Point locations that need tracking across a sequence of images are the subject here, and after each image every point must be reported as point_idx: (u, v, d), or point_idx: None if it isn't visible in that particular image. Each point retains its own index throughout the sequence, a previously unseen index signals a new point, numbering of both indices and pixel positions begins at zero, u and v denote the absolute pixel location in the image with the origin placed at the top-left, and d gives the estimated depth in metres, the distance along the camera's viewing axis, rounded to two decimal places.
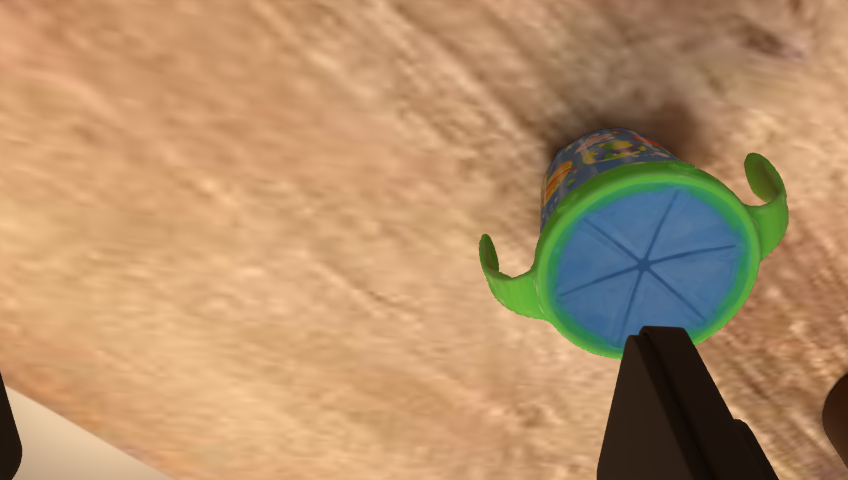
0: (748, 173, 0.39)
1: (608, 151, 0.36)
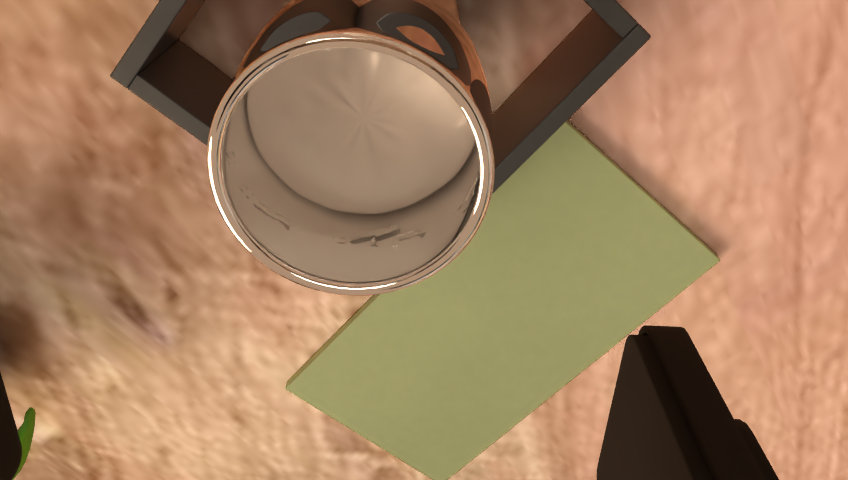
0: None
1: None
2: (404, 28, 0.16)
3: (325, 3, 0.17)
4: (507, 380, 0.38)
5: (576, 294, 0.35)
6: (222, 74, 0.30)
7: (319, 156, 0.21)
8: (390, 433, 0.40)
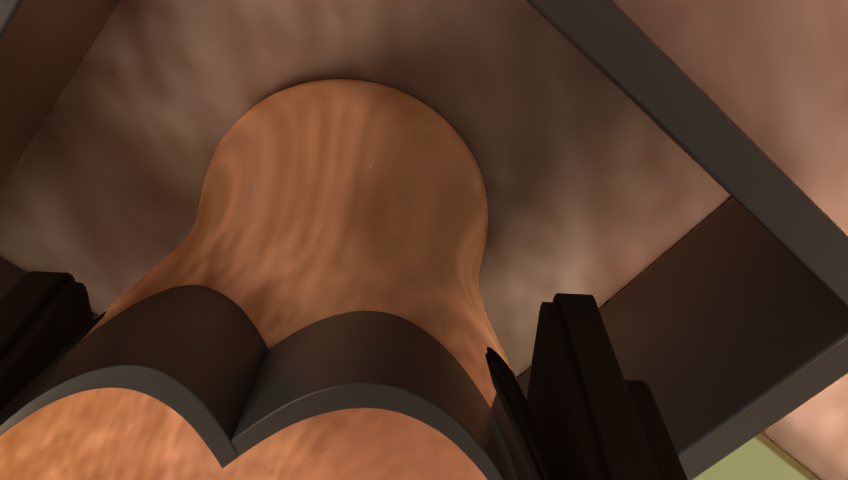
0: None
1: None
2: None
3: None
4: None
5: None
6: None
7: None
8: None
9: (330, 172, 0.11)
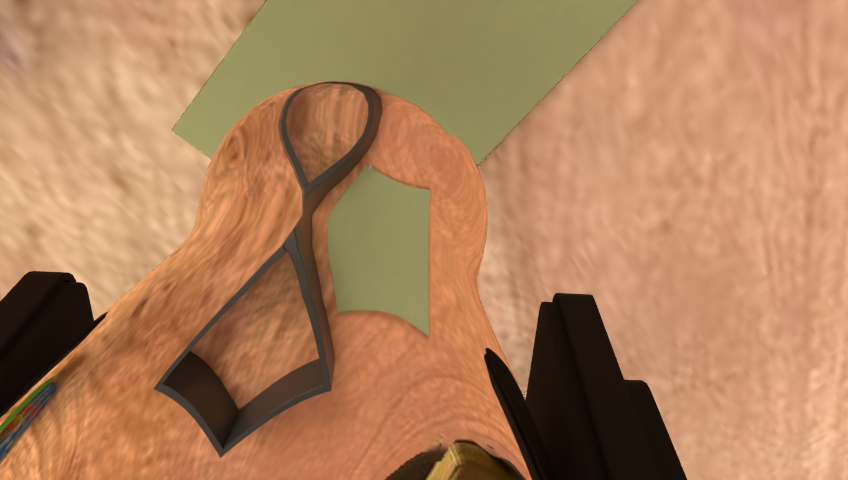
0: None
1: None
2: None
3: None
4: (445, 117, 0.31)
5: None
6: None
7: None
8: None
9: (330, 174, 0.11)
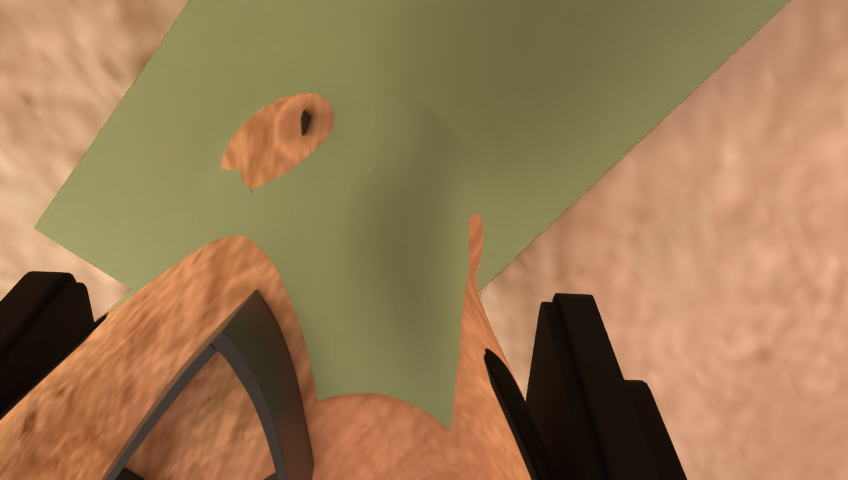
0: None
1: None
2: None
3: None
4: None
5: (576, 10, 0.18)
6: None
7: None
8: None
9: (330, 174, 0.11)
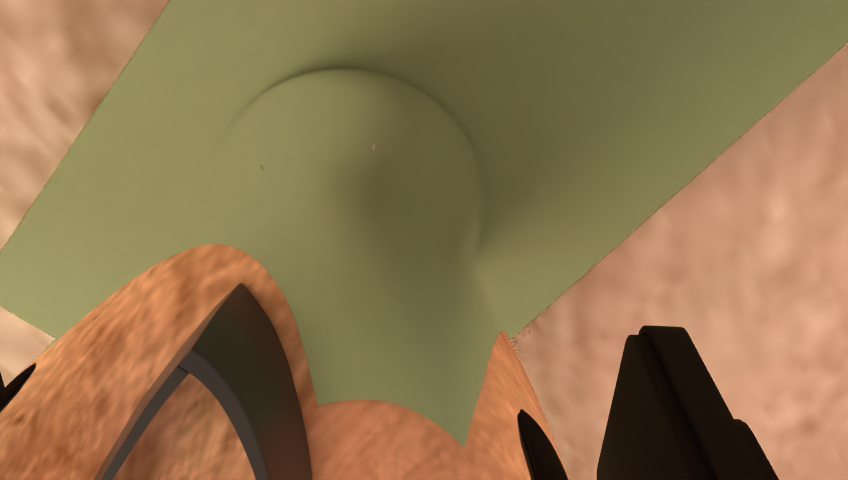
0: None
1: None
2: None
3: None
4: None
5: (604, 45, 0.15)
6: None
7: None
8: None
9: (336, 152, 0.12)
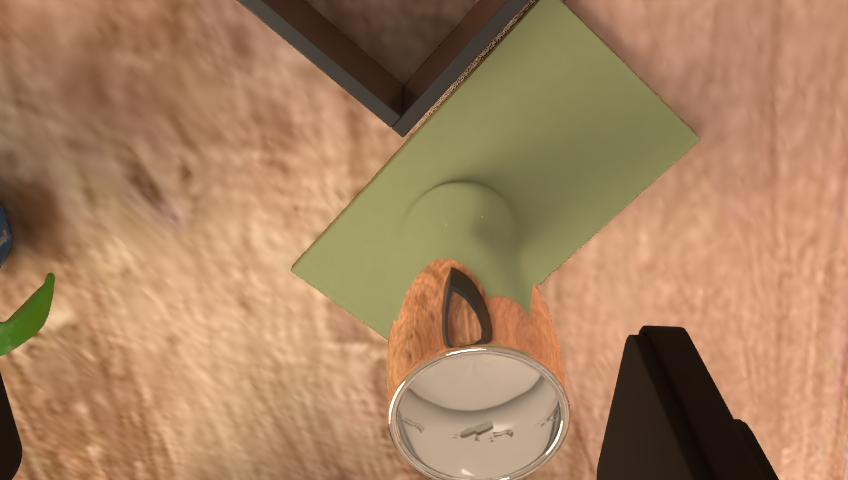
0: None
1: None
2: (515, 332, 0.26)
3: (461, 306, 0.27)
4: None
5: (566, 173, 0.38)
6: None
7: (439, 377, 0.30)
8: (390, 319, 0.42)
9: (470, 219, 0.35)
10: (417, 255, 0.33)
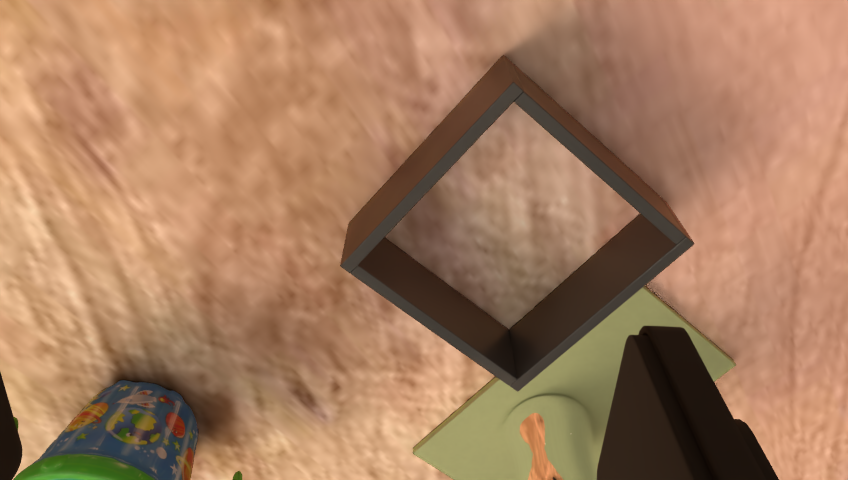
0: None
1: (128, 426, 0.44)
2: None
3: None
4: None
5: None
6: (392, 245, 0.44)
7: None
8: None
9: (563, 438, 0.46)
10: (526, 472, 0.45)
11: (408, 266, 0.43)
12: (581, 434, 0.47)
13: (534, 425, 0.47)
